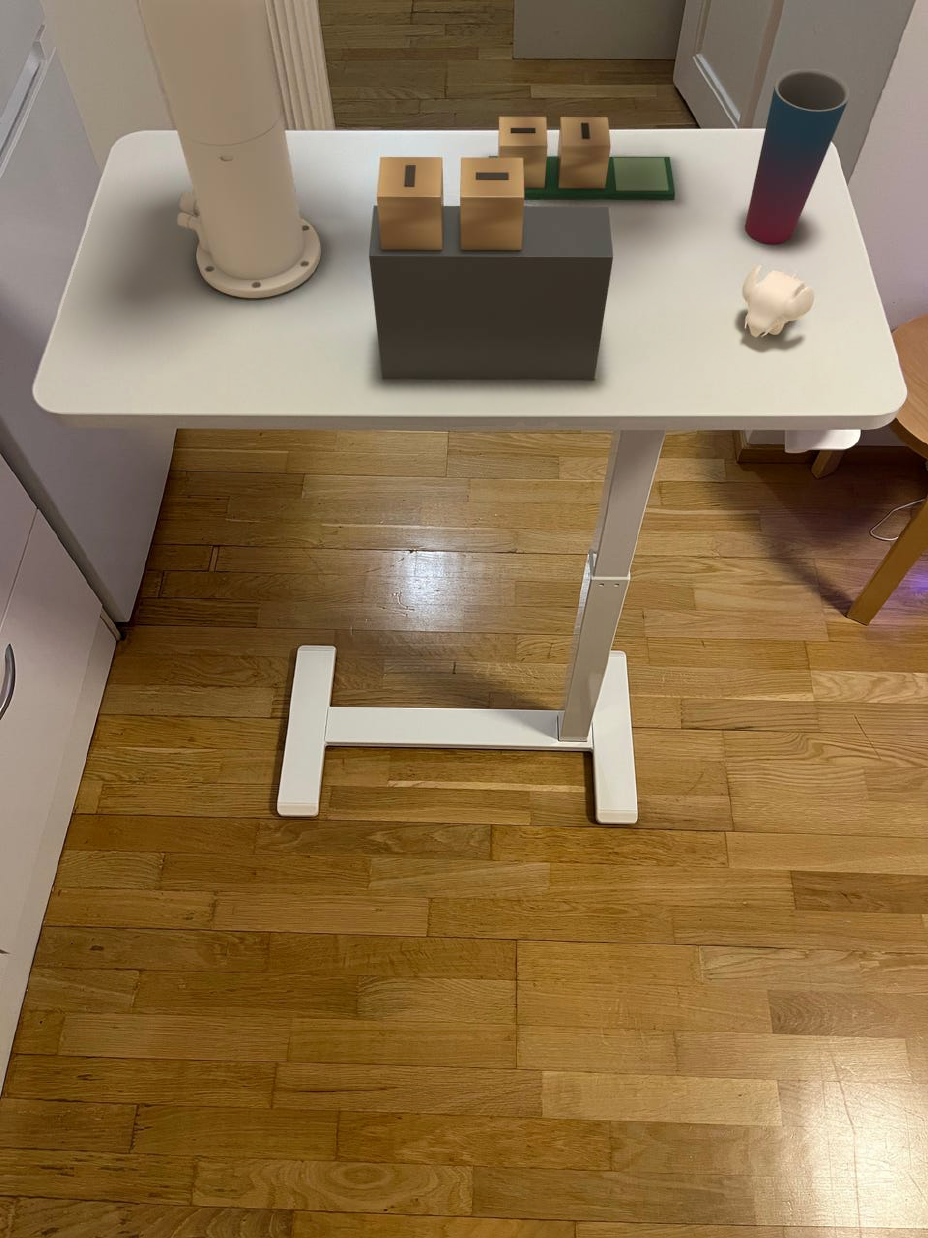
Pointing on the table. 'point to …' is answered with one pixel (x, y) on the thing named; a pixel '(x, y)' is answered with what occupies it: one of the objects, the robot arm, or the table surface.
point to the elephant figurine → (774, 301)
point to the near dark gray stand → (484, 276)
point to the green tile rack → (581, 162)
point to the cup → (793, 150)
